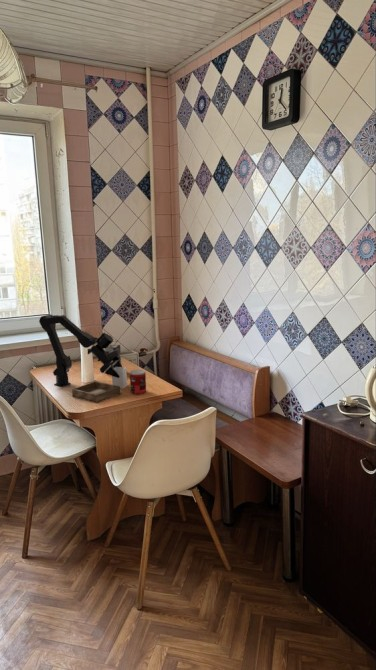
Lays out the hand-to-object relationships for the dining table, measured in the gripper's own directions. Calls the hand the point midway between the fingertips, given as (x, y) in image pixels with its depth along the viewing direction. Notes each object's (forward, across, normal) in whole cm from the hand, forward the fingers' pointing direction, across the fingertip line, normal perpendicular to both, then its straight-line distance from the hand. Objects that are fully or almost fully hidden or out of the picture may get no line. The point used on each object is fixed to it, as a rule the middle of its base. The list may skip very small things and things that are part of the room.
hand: (121, 374), depth 252 cm
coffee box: (-5, +26, +14) cm, 30 cm away
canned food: (+13, -8, -3) cm, 16 cm away
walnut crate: (-1, -15, +11) cm, 19 cm away
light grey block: (+4, 0, +6) cm, 7 cm away
